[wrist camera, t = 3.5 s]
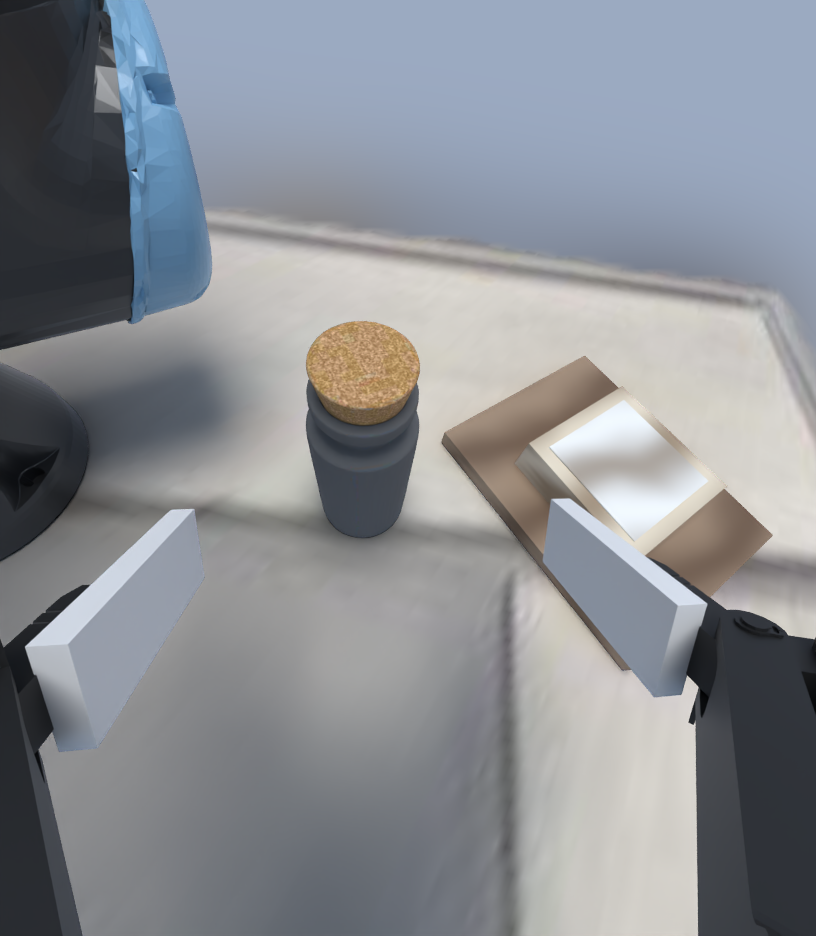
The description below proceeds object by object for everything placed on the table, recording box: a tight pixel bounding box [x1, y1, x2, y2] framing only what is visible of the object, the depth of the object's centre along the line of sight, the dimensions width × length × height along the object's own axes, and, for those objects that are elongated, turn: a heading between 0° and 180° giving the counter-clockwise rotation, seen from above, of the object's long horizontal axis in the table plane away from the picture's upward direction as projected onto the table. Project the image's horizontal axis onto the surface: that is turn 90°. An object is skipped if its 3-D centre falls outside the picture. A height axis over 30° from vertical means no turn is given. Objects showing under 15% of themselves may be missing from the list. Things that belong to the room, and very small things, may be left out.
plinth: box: [442, 356, 773, 670], centre depth 30 cm, size 20×16×5 cm
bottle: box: [306, 321, 420, 538], centre depth 24 cm, size 6×6×15 cm
